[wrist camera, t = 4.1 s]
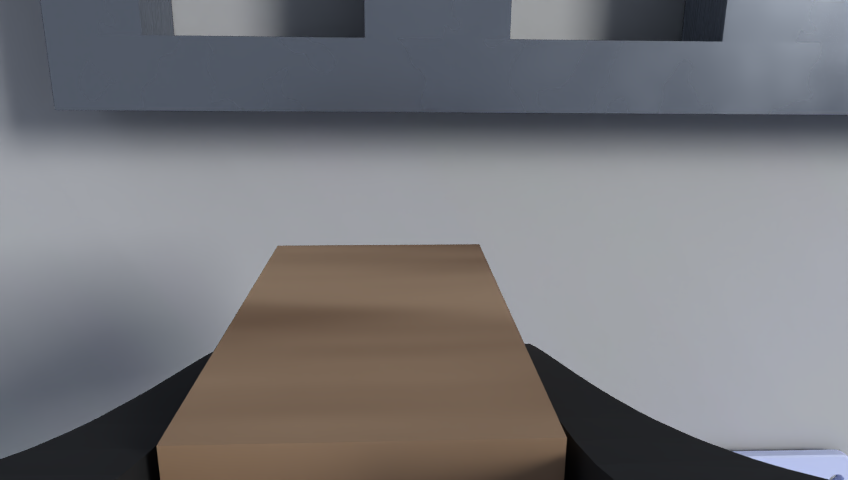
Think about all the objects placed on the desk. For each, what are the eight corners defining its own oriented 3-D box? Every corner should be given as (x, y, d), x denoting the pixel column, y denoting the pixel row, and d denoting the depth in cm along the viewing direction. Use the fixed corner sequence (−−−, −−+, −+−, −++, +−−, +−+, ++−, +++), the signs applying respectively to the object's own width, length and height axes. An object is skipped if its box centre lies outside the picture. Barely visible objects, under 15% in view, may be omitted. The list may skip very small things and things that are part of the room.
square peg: (473, 422, 14) (544, 745, 8) (287, 425, 14) (192, 759, 7) (479, 244, 13) (567, 437, 7) (277, 246, 13) (156, 445, 6)
